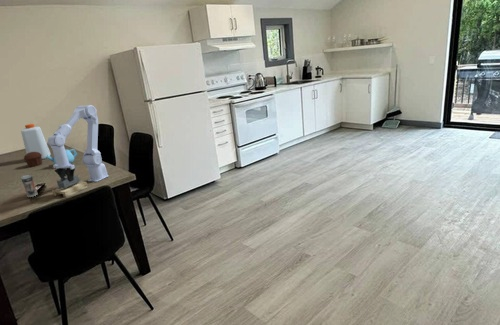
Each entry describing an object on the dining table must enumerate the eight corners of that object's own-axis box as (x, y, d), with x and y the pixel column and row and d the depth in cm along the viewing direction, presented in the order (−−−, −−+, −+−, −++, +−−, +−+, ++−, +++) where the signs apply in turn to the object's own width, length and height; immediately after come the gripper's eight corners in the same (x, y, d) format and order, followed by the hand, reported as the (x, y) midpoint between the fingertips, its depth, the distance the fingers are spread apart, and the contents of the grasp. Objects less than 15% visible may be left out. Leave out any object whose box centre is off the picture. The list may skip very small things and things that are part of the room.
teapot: (78, 159, 245) (73, 144, 241) (81, 163, 232) (76, 147, 228) (48, 165, 235) (43, 150, 231) (49, 170, 221) (44, 154, 218)
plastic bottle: (31, 158, 264) (20, 125, 256) (51, 154, 270) (41, 121, 261) (27, 162, 251) (15, 127, 242) (49, 158, 257) (38, 124, 248)
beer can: (28, 198, 172) (20, 178, 168) (27, 196, 176) (20, 176, 172) (38, 196, 175) (31, 175, 171) (37, 193, 178) (31, 173, 175)
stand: (75, 185, 184) (74, 180, 184) (88, 186, 180) (86, 181, 180) (53, 195, 172) (52, 190, 172) (66, 197, 168) (64, 191, 167)
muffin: (29, 168, 233) (25, 155, 230) (24, 166, 239) (19, 154, 236) (47, 163, 242) (43, 150, 239) (41, 161, 248) (37, 149, 245)
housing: (75, 180, 181) (73, 172, 180) (81, 180, 179) (79, 172, 178) (56, 188, 171) (53, 179, 169) (62, 189, 169) (59, 180, 167)
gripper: (45, 159, 170) (52, 182, 174) (63, 159, 164) (70, 184, 168) (57, 155, 176) (64, 177, 180) (75, 155, 170) (82, 179, 174)
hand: (68, 180), depth 174 cm, fingers closed on housing, 5 cm apart
